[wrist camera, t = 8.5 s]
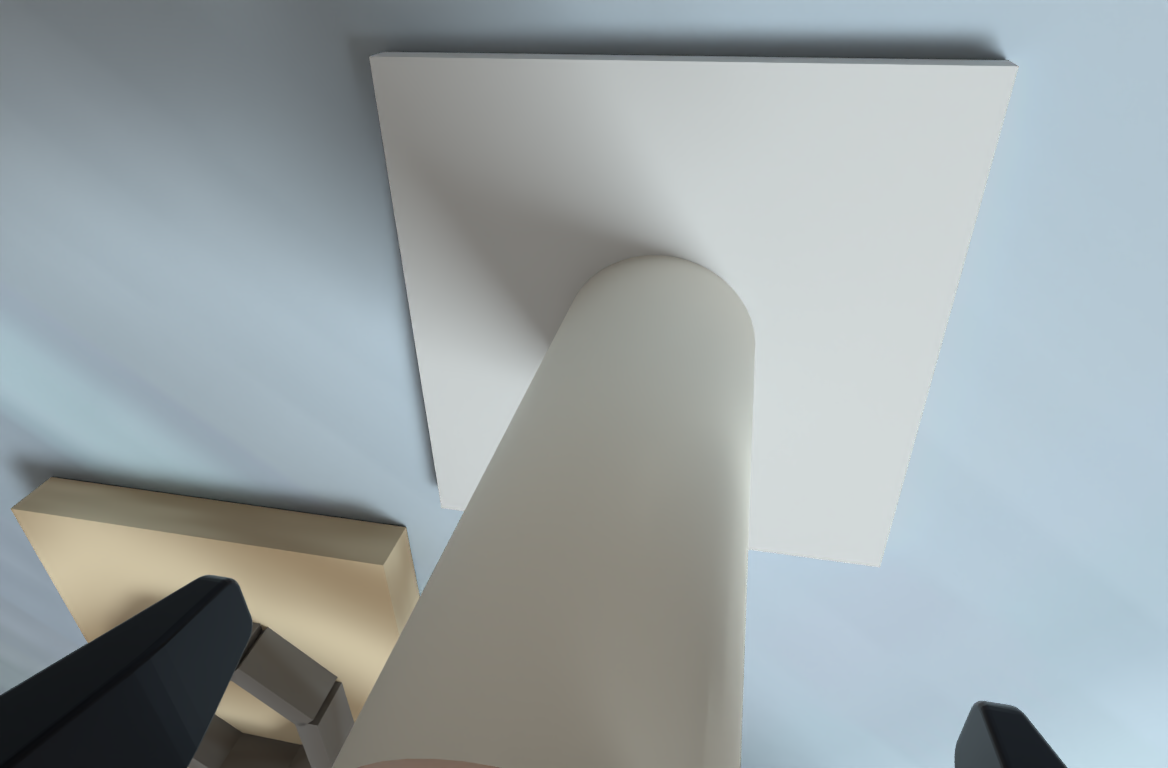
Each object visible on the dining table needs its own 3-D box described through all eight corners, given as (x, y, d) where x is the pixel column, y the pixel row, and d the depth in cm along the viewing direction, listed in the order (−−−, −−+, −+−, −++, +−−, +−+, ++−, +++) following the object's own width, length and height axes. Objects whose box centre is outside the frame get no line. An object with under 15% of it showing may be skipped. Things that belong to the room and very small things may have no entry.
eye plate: (459, 795, 28) (429, 879, 26) (186, 737, 31) (135, 810, 28) (406, 527, 21) (357, 608, 18) (51, 477, 23) (-36, 544, 21)
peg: (765, 262, 14) (757, 1094, 4) (744, 432, 16) (704, 1253, 6) (562, 248, 15) (134, 925, 5) (567, 413, 17) (278, 1118, 7)
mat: (876, 549, 18) (879, 567, 17) (449, 493, 20) (441, 508, 19) (1008, 60, 12) (1019, 66, 11) (383, 51, 14) (368, 57, 14)
